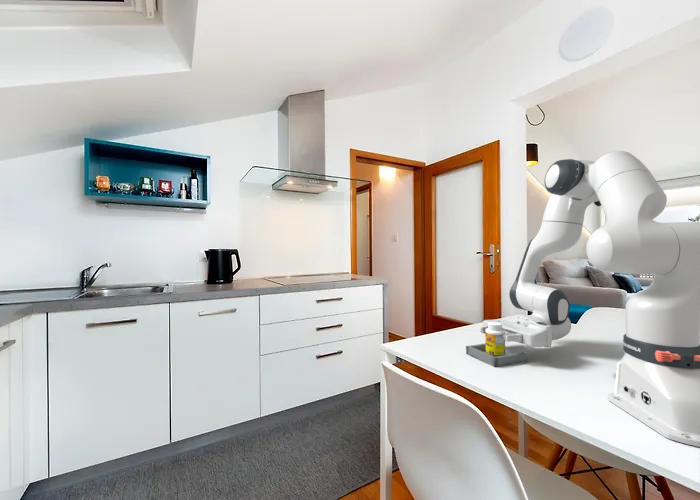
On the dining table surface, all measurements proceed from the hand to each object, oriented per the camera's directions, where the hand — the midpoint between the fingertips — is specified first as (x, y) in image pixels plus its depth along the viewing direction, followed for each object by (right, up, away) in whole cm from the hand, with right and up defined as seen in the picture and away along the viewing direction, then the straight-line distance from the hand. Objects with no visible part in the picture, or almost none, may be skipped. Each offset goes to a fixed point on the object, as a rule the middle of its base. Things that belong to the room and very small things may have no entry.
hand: (492, 334), depth 96 cm
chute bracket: (+1, -7, 0) cm, 7 cm away
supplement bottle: (+1, -7, 0) cm, 7 cm away
